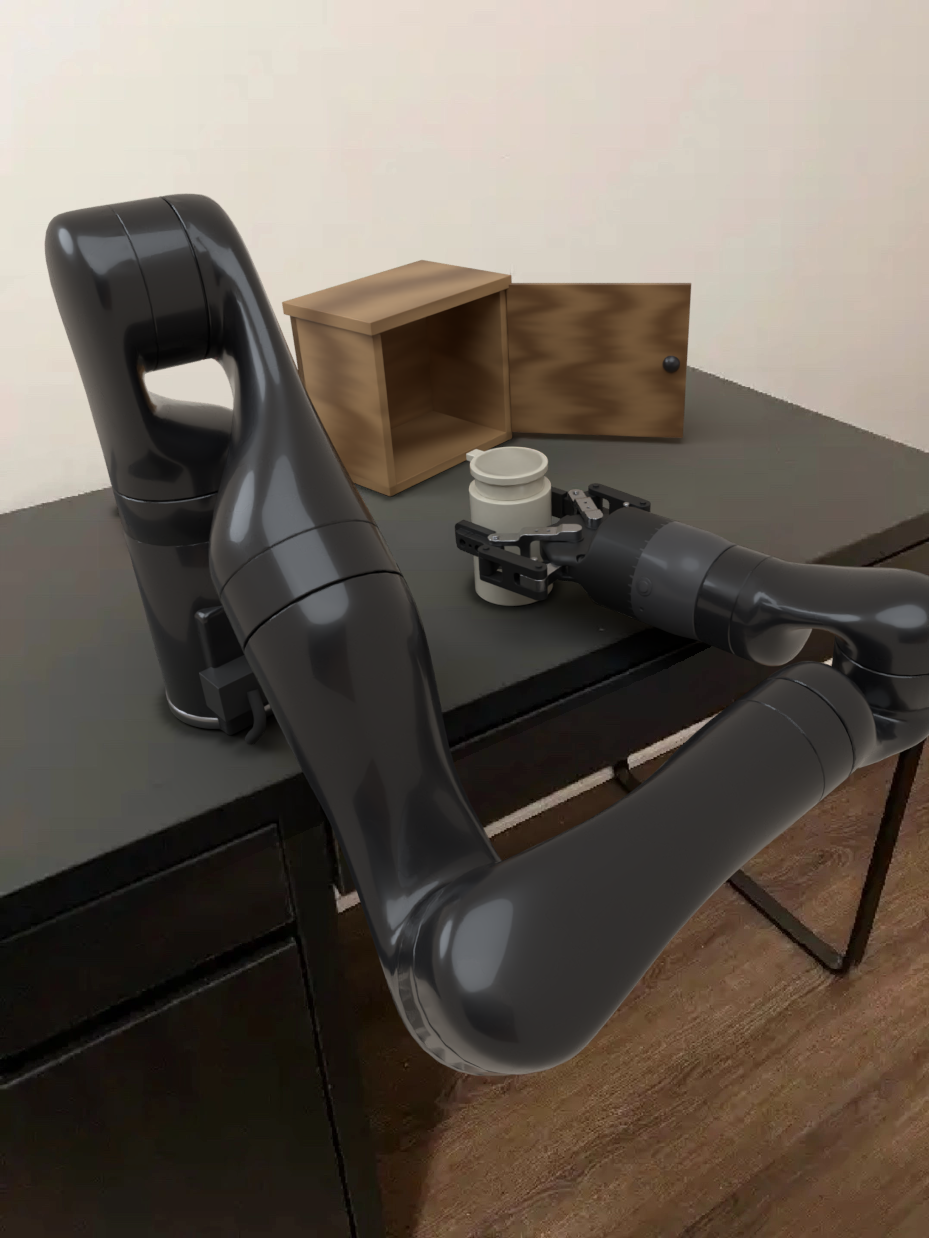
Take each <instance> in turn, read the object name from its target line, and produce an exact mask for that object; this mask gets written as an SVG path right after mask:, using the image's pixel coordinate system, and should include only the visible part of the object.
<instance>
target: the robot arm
mask: <svg viewBox="0 0 929 1238" xmlns="http://www.w3.org/2000/svg"><path fill="white" fill-rule="evenodd" d="M44 256H45V257H44V258H45V263H46V264H45V265H46V269H47V273H48V278H49V283H50V287H51V290H52V293H53V297H54V300H55V303H56V306H57V309H58V313H59V316H60V319H61V322H62V326H63V328H64V331H65V334H66V337H67V340H68V342H69V345H70V349H71V352H72V354H73V358H74V360H75V363H76V367H77V369H78V373H79V376H80V380H81V383H82V385H83V389H84V393H85V395H86V398H87V402H88V406H89V408H90V413H91V417H92V421H93V424H94V428H95V430H96V434H97V439H98V441H99V445H100V448H101V452H102V455H103V459H104V462H105V463H104V464H105V466H106V470H107V474H108V478H109V483H110V485H111V489H112V491H113V492H112V493H113V497H114V500H115V504H116V507H117V508H116V509H117V511H118V515H119V518H120V522H121V526H122V530H123V534H124V539H125V542H126V544H127V549H128V554H129V557H130V561H131V564H132V568H133V572H134V577H135V579H136V584H137V587H138V591H139V593H140V594H139V595H140V598H141V602H142V606H143V609H144V613H145V617H146V622H147V624H148V628H149V633H150V636H151V641H152V643H153V648H154V651H155V655H156V658H157V662H158V664H159V668H160V673H161V676H162V679H163V683H164V687H165V695H166V701H167V704H168V708H169V710H170V712H171V713H172V715H173V716H174V717H175V718H177V719H178V720H179V721H181V722H182V723H184V724H187V725H190V726H192V727H196V728H200V729H201V728H202V729H208V730H209V729H210V730H220V731H223V732H224V734H226V735H228V736H233V735H234V734H235V735H236V734H237V733H239V732H241V731H243V730H245V729H246V728H248V727H250V726H252V728H251V729H250V730H249V731H248V732H247V734H245V737H244V741H245V742H246V744H248V745H251V746H252V745H256V743H257V741H258V740H260V739H261V738H262V736H263V735H264V733H265V732H266V729H267V718H268V717H270V716H272V715H274V718H275V720H276V721H277V724H278V726H279V728H280V730H281V732H282V734H283V736H284V738H285V740H286V742H287V745H288V746H289V748H290V750H291V752H292V754H293V756H294V758H295V760H296V762H297V763H298V766H299V767H300V769H301V771H302V773H303V775H304V777H305V779H306V781H307V783H308V785H309V786H310V788H311V790H312V792H313V794H314V795H315V797H316V799H317V800H318V801H317V802H318V803H319V804H320V806H321V808H322V810H323V812H324V814H325V816H326V818H327V820H328V823H329V824H330V826H331V828H332V830H333V833H334V835H335V838H336V840H337V842H338V844H339V847H340V849H341V852H342V854H343V857H344V860H345V863H346V866H347V868H348V870H349V873H350V876H351V879H352V883H353V885H354V889H355V891H356V894H357V897H358V899H359V902H360V905H361V908H362V912H363V915H364V917H365V920H366V923H367V926H368V929H369V933H370V935H371V938H372V942H373V945H374V948H375V950H376V954H377V956H378V959H379V962H380V965H381V968H382V972H383V974H384V978H385V980H386V984H387V986H388V987H387V988H388V990H389V993H390V996H391V998H392V1001H393V1004H394V1007H395V1009H396V1011H397V1014H398V1016H399V1017H400V1019H401V1021H402V1023H403V1025H404V1027H405V1029H406V1030H407V1032H408V1033H409V1034H410V1035H411V1037H412V1038H413V1040H414V1041H415V1042H416V1043H417V1045H418V1046H419V1047H420V1048H421V1049H422V1050H423V1051H424V1052H426V1053H427V1054H428V1055H429V1056H430V1057H432V1058H433V1059H434V1060H435V1061H436V1062H438V1063H439V1064H442V1065H444V1067H445V1066H446V1067H448V1068H450V1069H452V1070H453V1071H455V1072H459V1073H463V1074H466V1075H467V1074H468V1075H471V1076H478V1077H480V1076H481V1077H482V1076H483V1077H500V1076H514V1075H516V1076H518V1075H521V1076H522V1075H528V1074H534V1073H540V1072H545V1071H549V1070H551V1069H553V1068H555V1067H557V1066H560V1065H562V1064H564V1063H567V1062H568V1061H570V1060H571V1059H573V1058H574V1057H576V1056H577V1055H579V1054H580V1053H581V1052H582V1051H583V1050H584V1049H585V1048H586V1047H587V1046H588V1045H589V1044H590V1043H591V1042H592V1041H593V1039H594V1038H595V1037H596V1036H597V1035H598V1034H599V1032H600V1031H601V1030H602V1029H603V1028H604V1026H605V1025H606V1024H607V1023H608V1022H609V1020H610V1019H611V1018H612V1017H613V1015H614V1014H615V1013H616V1011H618V1009H619V1008H620V1007H621V1005H622V1004H623V1003H624V1002H625V1000H626V999H627V998H628V997H629V995H630V994H631V993H632V992H633V990H634V989H635V987H636V986H637V985H638V984H639V982H641V980H642V978H643V977H644V976H645V975H646V974H647V972H648V971H649V970H650V968H651V967H652V966H653V965H654V963H655V962H656V960H657V959H658V958H659V956H660V955H661V954H662V953H663V951H664V950H665V949H666V948H667V947H668V946H669V944H670V942H671V941H672V940H673V939H674V938H675V937H676V936H677V934H678V933H679V932H680V931H681V930H682V929H683V927H684V926H685V925H686V924H687V923H688V922H689V921H690V920H691V918H693V916H695V914H696V913H697V912H698V911H699V910H700V908H702V907H703V905H704V904H705V903H706V902H708V900H709V899H710V898H711V897H712V896H713V895H714V894H715V893H716V892H717V891H718V890H719V889H720V887H722V886H723V885H724V884H725V883H726V882H727V881H728V880H729V879H730V878H731V877H732V876H733V875H734V874H735V873H737V872H738V871H739V870H740V869H741V868H742V867H743V866H745V865H746V864H747V863H748V862H749V861H750V860H751V859H752V858H754V857H755V856H756V855H758V854H759V853H760V852H761V851H762V850H763V849H765V848H766V847H767V846H768V845H770V843H772V842H773V841H774V840H776V839H777V838H778V837H779V836H781V835H782V834H783V833H785V831H787V830H788V829H789V828H791V826H793V825H794V824H795V823H796V822H798V821H799V820H800V819H801V818H802V817H804V816H805V815H807V813H808V812H809V811H811V810H812V809H814V807H816V806H817V804H819V803H820V802H821V801H822V800H823V799H825V798H826V797H827V796H829V794H831V793H832V792H833V791H834V790H835V789H836V788H838V787H839V786H840V785H841V784H843V782H845V781H846V780H847V779H848V778H849V777H850V776H851V775H852V774H853V773H854V772H855V771H856V770H857V769H861V768H864V767H867V766H870V765H873V764H875V763H879V762H881V761H883V760H885V759H887V758H890V757H892V756H894V755H897V754H899V753H902V752H904V751H906V750H909V749H910V748H913V747H915V746H917V745H918V744H919V743H921V742H923V741H924V740H925V739H926V738H927V737H929V574H925V573H923V572H920V571H917V570H912V569H907V568H900V567H889V566H888V567H885V566H853V565H852V566H851V565H849V566H848V565H834V564H821V563H804V562H795V561H789V560H786V559H783V558H780V557H777V556H775V555H772V554H769V553H766V552H763V551H759V550H756V549H754V548H750V547H747V546H745V545H741V544H738V543H736V542H733V541H731V540H729V539H727V538H725V537H723V536H721V535H718V534H717V533H715V532H712V531H710V530H706V529H703V528H700V527H698V526H694V525H691V524H688V523H684V522H681V521H679V520H675V519H672V518H670V517H665V516H663V515H660V514H656V513H653V512H651V509H652V507H651V505H652V504H651V501H650V500H648V499H644V498H641V497H639V496H636V495H634V494H631V493H627V492H626V491H622V490H619V489H617V488H613V487H611V486H609V485H605V484H603V483H598V482H595V483H590V484H589V485H588V487H587V488H588V489H587V490H585V491H583V490H582V489H579V488H573V489H570V490H568V491H567V490H565V489H561V488H558V487H555V486H552V485H551V500H552V518H553V517H554V518H556V519H559V520H558V521H557V522H555V523H552V525H549V526H547V527H524V528H522V529H521V531H520V532H519V533H496V531H493V530H490V529H488V528H485V527H482V526H480V525H477V524H474V523H472V522H471V521H469V520H466V519H462V520H460V521H457V522H456V523H455V524H454V537H455V544H456V548H457V549H458V550H459V551H461V552H463V553H467V554H470V555H471V556H473V555H474V556H477V557H478V560H479V576H480V580H482V581H484V582H487V583H490V584H493V585H495V586H498V587H501V588H504V589H506V590H509V591H512V592H515V593H517V594H520V595H523V596H525V597H528V598H531V599H534V600H538V601H537V602H539V601H540V602H541V601H545V600H546V599H548V597H549V594H548V586H549V585H551V584H552V583H553V584H554V583H555V582H557V581H560V582H567V583H573V584H574V583H575V584H578V585H579V586H580V587H581V588H582V590H584V591H585V593H586V594H587V596H588V597H589V599H591V601H592V602H593V603H595V604H597V605H598V606H600V607H604V608H606V609H609V610H612V611H614V612H616V613H619V614H621V615H623V616H626V617H628V618H631V619H633V620H636V621H638V622H641V623H644V624H646V625H649V626H651V627H653V628H655V629H659V630H661V631H664V632H666V633H669V634H671V635H675V636H678V637H682V638H685V639H691V640H694V641H697V642H701V643H704V644H706V645H709V646H711V647H714V648H715V649H718V650H721V651H724V652H726V653H728V654H731V655H734V656H736V657H738V658H741V659H743V660H746V661H749V662H751V663H755V664H759V665H762V666H766V667H779V666H780V667H781V666H783V667H782V668H780V669H778V670H776V671H775V672H773V673H771V674H770V675H768V676H767V677H766V678H764V679H763V680H761V681H760V682H759V683H757V684H756V685H755V686H753V687H752V688H750V690H748V691H746V693H745V692H744V694H743V695H741V696H740V697H738V698H737V699H736V700H734V701H733V702H731V703H730V704H729V705H728V706H726V707H725V708H723V710H721V711H720V712H719V713H717V714H716V715H715V716H714V717H712V718H711V719H710V720H709V721H706V723H705V724H703V726H701V727H700V728H699V729H698V730H696V731H695V732H694V733H693V734H692V735H691V736H690V737H689V738H688V739H686V741H685V742H684V743H683V744H681V745H680V746H679V747H678V748H677V749H676V750H675V751H674V752H673V753H672V754H671V756H669V758H667V760H665V761H664V762H663V763H662V764H661V765H660V766H659V767H658V768H657V769H656V770H655V771H654V772H653V773H652V774H651V775H649V776H648V777H647V778H646V779H645V780H643V781H642V783H640V784H639V785H637V786H636V787H634V789H632V791H631V790H630V792H628V793H627V794H625V795H623V797H621V798H620V799H618V800H617V801H616V802H614V803H612V804H611V805H610V806H607V808H605V809H603V810H601V811H600V812H598V813H596V814H595V815H593V816H591V817H590V818H588V819H586V820H585V821H582V822H580V823H578V824H576V825H574V826H573V827H571V828H568V829H567V830H564V831H563V832H560V833H559V834H557V835H554V836H552V837H550V838H548V839H546V840H543V841H542V842H540V843H537V844H536V845H533V846H531V847H528V848H527V849H525V850H523V851H520V852H518V853H516V854H514V855H512V856H510V857H507V858H505V859H503V860H502V858H501V856H500V855H499V853H498V852H497V850H496V849H495V847H494V845H493V843H492V841H491V839H490V837H489V836H488V833H487V832H486V830H485V828H484V826H483V824H482V822H481V820H480V819H479V817H478V815H477V813H476V811H475V810H474V807H473V805H472V804H471V802H470V799H469V797H468V795H467V793H466V791H465V789H464V787H463V784H462V782H461V779H460V777H459V774H458V771H457V769H456V766H455V763H454V759H453V755H452V752H451V749H450V744H449V741H448V736H447V731H446V726H445V721H444V715H443V710H442V705H441V698H440V693H439V688H438V684H437V677H436V673H435V668H434V664H433V659H432V656H431V651H430V645H429V643H428V638H427V634H426V630H425V627H424V624H423V620H422V616H421V614H420V611H419V608H418V606H417V602H416V601H415V598H414V596H413V594H412V591H411V589H410V587H409V584H408V581H406V578H405V577H404V574H403V573H402V571H401V569H400V567H399V565H398V563H397V561H396V559H395V557H394V554H393V553H392V551H391V549H390V547H389V545H388V543H387V541H386V539H385V538H384V535H383V533H382V532H381V531H382V530H380V528H379V526H378V523H377V522H376V521H375V519H374V517H373V515H372V514H371V512H370V510H369V508H368V506H367V504H366V503H365V501H364V499H363V497H362V496H361V494H360V492H359V490H358V488H357V486H356V484H355V483H353V481H352V479H351V477H350V475H349V474H348V472H347V470H346V468H345V466H344V464H343V463H342V461H341V459H340V457H339V455H338V453H337V451H336V449H335V447H334V445H333V443H332V441H331V439H330V437H329V435H328V433H327V431H326V429H325V427H324V425H323V423H322V421H321V419H320V417H319V415H318V413H317V411H316V409H315V407H314V405H313V403H312V401H311V399H310V397H309V395H308V392H307V390H306V388H305V386H304V383H303V381H302V379H301V376H300V374H299V371H298V366H297V363H296V362H295V360H294V357H293V354H292V353H291V350H290V348H289V345H288V343H287V340H286V338H285V336H284V332H283V330H282V328H281V325H280V323H279V321H278V318H277V315H276V313H275V311H274V308H273V306H272V303H271V301H270V298H269V296H268V294H267V291H266V289H265V287H264V284H263V281H262V279H261V277H260V275H259V271H258V270H257V267H256V265H255V262H254V260H253V258H252V256H251V254H250V250H249V249H248V246H247V244H246V243H245V241H244V239H243V237H242V235H241V233H240V231H239V230H238V228H237V226H236V225H235V223H234V221H233V220H232V219H231V217H230V216H229V214H228V213H227V211H226V210H225V209H224V208H223V207H222V206H221V205H220V203H218V202H217V201H216V200H215V199H213V198H211V197H210V196H208V195H204V194H199V193H173V194H166V195H159V196H152V197H146V198H139V199H133V200H127V201H120V202H113V203H108V204H101V205H95V206H90V207H83V208H77V209H74V210H69V211H64V212H61V213H58V214H56V215H55V216H53V218H52V219H51V220H50V221H49V222H48V224H47V228H46V230H45V237H44ZM210 359H211V360H214V361H215V362H217V363H218V364H219V366H220V367H221V368H222V370H223V371H224V374H225V376H226V378H227V381H228V384H229V387H230V390H231V395H232V408H229V407H226V406H223V405H220V404H215V403H208V402H200V401H191V400H190V401H189V400H182V399H181V400H180V399H175V398H170V397H166V396H163V395H159V394H157V393H155V392H152V391H150V390H149V389H148V387H147V385H146V374H148V373H152V372H158V371H161V370H166V369H171V368H175V367H179V366H185V365H188V364H193V363H196V362H201V361H205V360H210ZM604 500H606V502H608V507H605V506H604ZM533 541H539V543H540V556H541V558H542V560H543V561H538V558H537V557H531V543H532V542H533ZM505 546H517V547H519V548H520V555H518V554H515V553H512V552H509V551H506V550H505ZM498 569H502V572H500V571H497V570H498ZM813 630H821V631H825V632H827V633H830V634H832V635H834V642H833V651H832V658H831V665H830V664H827V663H825V662H822V661H815V660H801V661H797V662H793V663H790V664H788V663H789V662H790V661H792V660H793V659H795V657H797V655H798V654H799V653H800V652H801V651H802V649H803V648H804V646H805V644H806V643H807V641H808V639H809V638H810V635H811V634H812V631H813ZM785 664H788V665H786V666H784V665H785Z"/></svg>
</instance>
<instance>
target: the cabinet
mask: <svg viewBox="0 0 929 1238" xmlns="http://www.w3.org/2000/svg"><path fill="white" fill-rule="evenodd" d="M512 279H513V278H512V274H508V273H507V274H506V273H501V272H496V271H490V270H484V269H478V268H472V267H466V266H461V265H454V264H450V263H449V264H448V263H443V262H437V261H431V260H425V259H420V260H417V261H413V262H410V263H407V264H403V265H400V266H397V267H394V268H390V269H387V270H383V271H380V272H376V273H373V274H370V275H367V276H364V277H360V278H356V279H353V280H350V281H347V282H344V283H340V284H337V285H334V286H330V287H327V288H324V289H321V290H317V291H314V292H310V293H307V294H304V295H300V296H298V297H295V298H290V299H288V300H283V301H282V302H281V305H282V306H281V307H282V312H283V315H284V316H285V315H286V316H289V320H290V327H291V332H292V333H291V334H292V339H293V346H294V352H295V358H296V359H295V360H296V367H297V369H298V371H299V374H300V376H301V379H302V381H303V383H304V386H305V388H306V390H307V392H308V395H309V397H310V399H311V401H312V403H313V405H314V407H315V409H316V411H317V413H318V415H319V417H320V419H321V421H322V423H323V425H324V427H325V429H326V431H327V433H328V435H329V437H330V439H331V441H332V443H333V445H334V447H335V449H336V451H337V453H338V455H339V457H340V459H341V461H342V463H343V464H344V466H345V468H346V470H347V472H348V474H349V475H350V477H351V479H352V481H353V483H354V484H355V485H358V486H361V487H364V488H367V489H369V490H372V491H374V492H377V493H380V494H382V495H385V496H388V497H393V496H395V495H397V494H399V493H401V492H403V491H406V490H407V489H409V488H411V487H413V486H415V485H416V486H417V484H420V483H422V482H424V481H426V480H429V479H430V478H432V477H434V476H436V475H438V474H441V473H443V472H444V471H448V470H449V469H451V468H453V467H455V466H457V465H459V464H461V463H464V462H465V461H467V459H466V454H467V453H469V452H471V451H473V450H475V449H478V450H481V451H487V450H490V449H494V448H496V447H497V446H499V445H501V444H503V443H505V442H507V441H509V440H511V439H513V433H527V434H553V435H554V434H555V435H556V434H558V435H581V436H583V435H584V436H585V435H586V436H613V437H614V436H615V437H640V438H641V437H644V438H646V437H647V438H669V439H670V438H671V439H672V438H673V439H683V438H684V425H685V411H686V410H685V408H686V392H687V391H686V388H687V373H688V372H687V370H688V355H689V354H688V353H689V338H690V337H689V336H690V318H691V317H690V316H691V299H692V282H512V281H513V280H512Z"/></svg>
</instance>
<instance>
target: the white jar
mask: <svg viewBox="0 0 929 1238" xmlns="http://www.w3.org/2000/svg"><path fill="white" fill-rule="evenodd" d="M466 459H467V460H466V461H468V462H469V472H470V475H471V476H472V477H473V478H474V479H473V480H472V481H471V482H470V483H469V486H468V499H469V502H468V503H469V516H470V522H472V523H474V524H477V525H480V526H482V527H485V528H488V529H490V530H493V531H496V533H519V532H520V531H521V529H522V528H524V527H547V526H549V525H552V524H553V516H552V500H551V486H552V482H551V481H550V478H548V477H547V476H545V475H546V474H547V472H548V470H549V459H548V457H547V456H546V454H544V453H543V452H542V451H539V450H538V449H534V448H530V447H524V446H503V447H502V446H501V447H494V448H491V449H488V450H486V451H481V450H478V449H475V450H473V451H471V452H469V453H467V454H466ZM505 550H506V551H509V552H512V553H515V554H518V555H520V548H519V547H517V546H505ZM531 557H537V558H538V561H543V560H542V558H541V556H540V543H539V541H533V542H532V543H531ZM472 561H473V576H474V577H473V579H474V589H475V592H476V594H477V595H478V597H480V598H481V599H483V600H484V601H486V602H489V603H491V604H495V605H499V606H506V607H514V606H515V607H517V606H526V605H529V604H533V603H536V602H539V601H538V600H534V599H531V598H528V597H525V596H523V595H520V594H517V593H515V592H512V591H509V590H506V589H504V588H501V587H498V586H495V585H493V584H490V583H487V582H484V581H482V580H480V576H479V560H478V557H477V556H474V555H472ZM497 571H500V572H502V569H498V570H497ZM553 587H554V582H553V583H552V584H551V585H549V586H548V595H549V594H550V593H551V591H552V590H553Z"/></svg>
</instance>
